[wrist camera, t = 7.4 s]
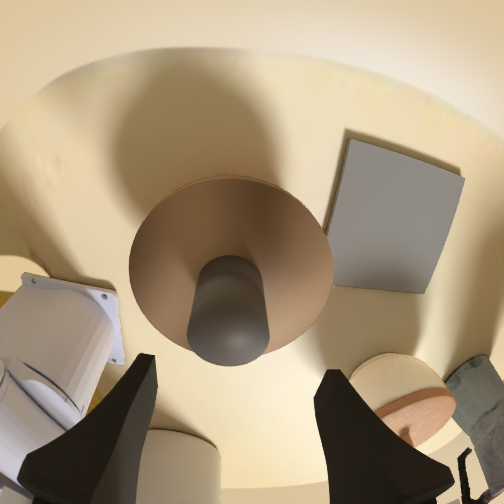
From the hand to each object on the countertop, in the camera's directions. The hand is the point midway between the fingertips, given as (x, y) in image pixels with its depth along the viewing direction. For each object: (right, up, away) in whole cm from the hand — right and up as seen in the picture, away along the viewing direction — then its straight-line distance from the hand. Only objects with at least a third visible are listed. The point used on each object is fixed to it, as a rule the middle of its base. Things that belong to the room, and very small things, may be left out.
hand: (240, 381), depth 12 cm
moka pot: (+28, -12, +18) cm, 35 cm away
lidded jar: (+13, -7, +15) cm, 21 cm away
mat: (+11, +7, +8) cm, 15 cm away
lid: (-1, +4, +4) cm, 6 cm away
